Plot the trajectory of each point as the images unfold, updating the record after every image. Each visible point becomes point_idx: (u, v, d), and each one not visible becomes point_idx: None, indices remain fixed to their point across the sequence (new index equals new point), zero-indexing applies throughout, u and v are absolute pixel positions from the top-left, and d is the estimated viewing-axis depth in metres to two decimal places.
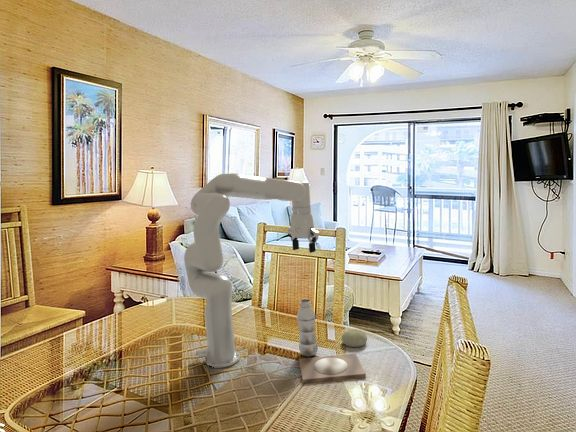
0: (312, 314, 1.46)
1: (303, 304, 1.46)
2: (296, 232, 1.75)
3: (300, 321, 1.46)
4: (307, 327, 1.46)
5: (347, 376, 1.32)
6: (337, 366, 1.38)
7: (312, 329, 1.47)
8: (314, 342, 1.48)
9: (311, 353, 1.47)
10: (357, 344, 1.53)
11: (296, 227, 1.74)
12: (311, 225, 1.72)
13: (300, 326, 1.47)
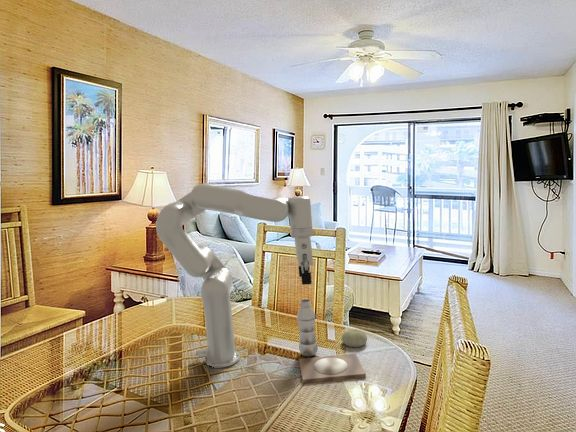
0: (312, 314, 1.46)
1: (303, 304, 1.46)
2: None
3: (300, 321, 1.46)
4: (307, 327, 1.46)
5: (347, 376, 1.32)
6: (337, 366, 1.38)
7: (312, 329, 1.47)
8: (314, 342, 1.48)
9: (311, 353, 1.47)
10: (357, 344, 1.53)
11: None
12: None
13: (300, 326, 1.47)
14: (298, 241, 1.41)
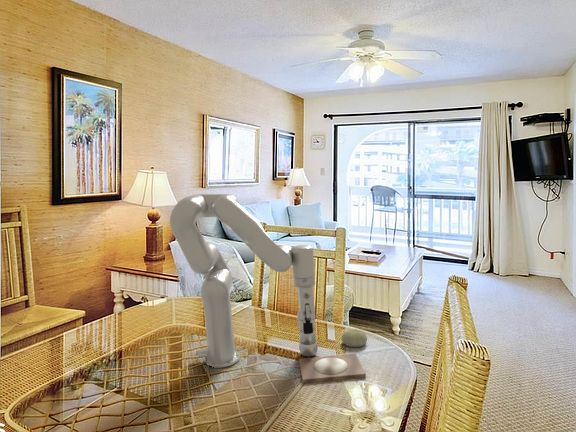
0: (312, 314, 1.46)
1: None
2: None
3: (300, 321, 1.46)
4: None
5: (347, 376, 1.32)
6: (337, 366, 1.38)
7: None
8: (314, 342, 1.48)
9: (311, 353, 1.47)
10: (357, 344, 1.53)
11: None
12: None
13: (300, 326, 1.47)
14: (301, 290, 1.43)
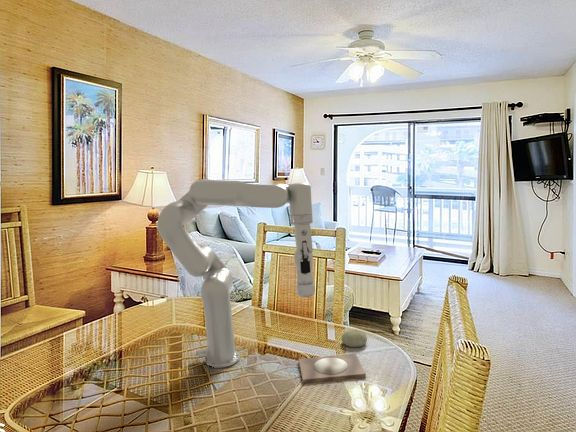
0: (309, 253, 1.43)
1: None
2: None
3: (297, 260, 1.43)
4: None
5: (347, 376, 1.32)
6: (337, 366, 1.38)
7: None
8: (311, 282, 1.45)
9: (308, 293, 1.44)
10: (357, 344, 1.53)
11: None
12: None
13: (297, 266, 1.44)
14: (298, 228, 1.39)
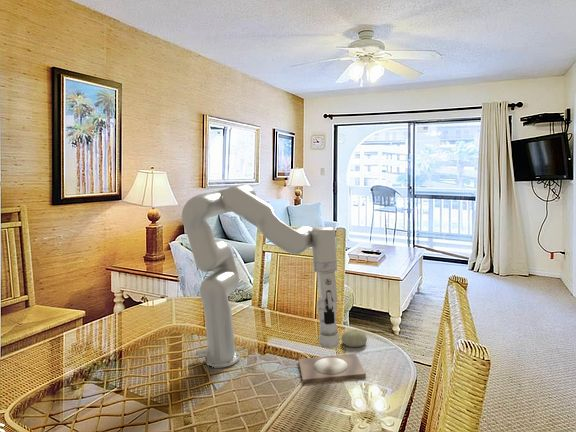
0: (334, 302, 1.34)
1: None
2: None
3: (321, 310, 1.34)
4: None
5: (347, 376, 1.32)
6: (337, 366, 1.38)
7: (334, 319, 1.35)
8: (336, 333, 1.35)
9: (332, 345, 1.35)
10: (357, 344, 1.53)
11: None
12: None
13: (320, 315, 1.35)
14: (322, 276, 1.30)
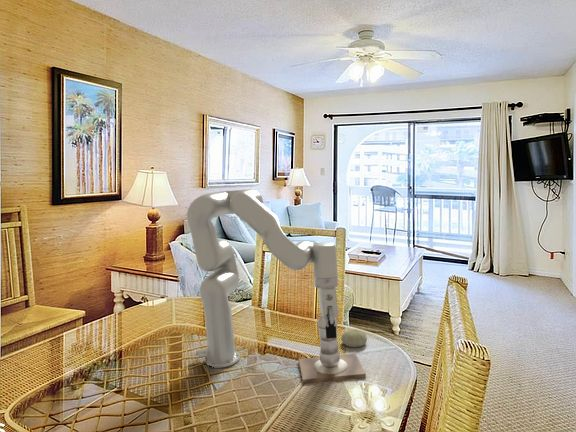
0: None
1: None
2: None
3: (321, 329, 1.35)
4: None
5: (347, 376, 1.32)
6: (337, 366, 1.38)
7: None
8: (336, 352, 1.36)
9: (333, 363, 1.36)
10: (357, 344, 1.53)
11: None
12: None
13: (321, 334, 1.36)
14: (323, 292, 1.31)
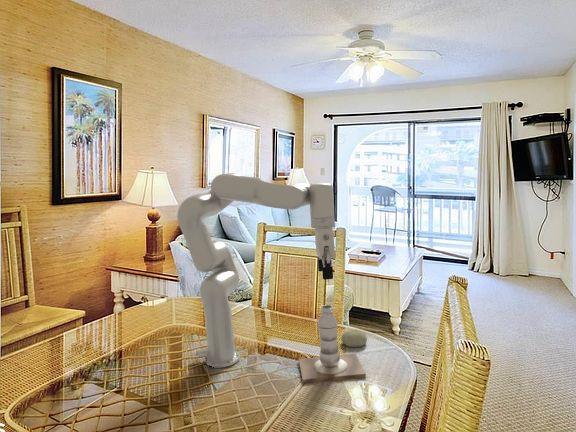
0: (334, 321, 1.35)
1: (324, 310, 1.35)
2: None
3: (321, 329, 1.35)
4: (328, 335, 1.35)
5: (347, 376, 1.32)
6: (337, 366, 1.38)
7: (334, 338, 1.36)
8: (336, 352, 1.36)
9: (333, 364, 1.36)
10: (357, 344, 1.53)
11: None
12: None
13: (321, 334, 1.36)
14: (319, 232, 1.28)
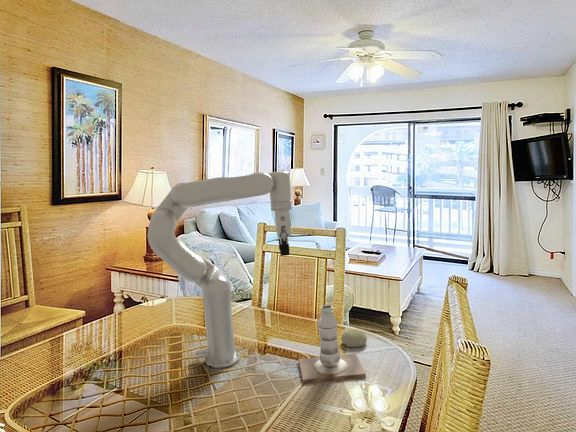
0: (334, 321, 1.35)
1: (325, 310, 1.35)
2: None
3: (321, 329, 1.35)
4: (328, 335, 1.35)
5: (347, 376, 1.32)
6: (337, 366, 1.38)
7: (334, 338, 1.36)
8: (336, 352, 1.36)
9: (333, 364, 1.36)
10: (357, 344, 1.53)
11: None
12: None
13: (321, 334, 1.36)
14: (277, 214, 1.47)
